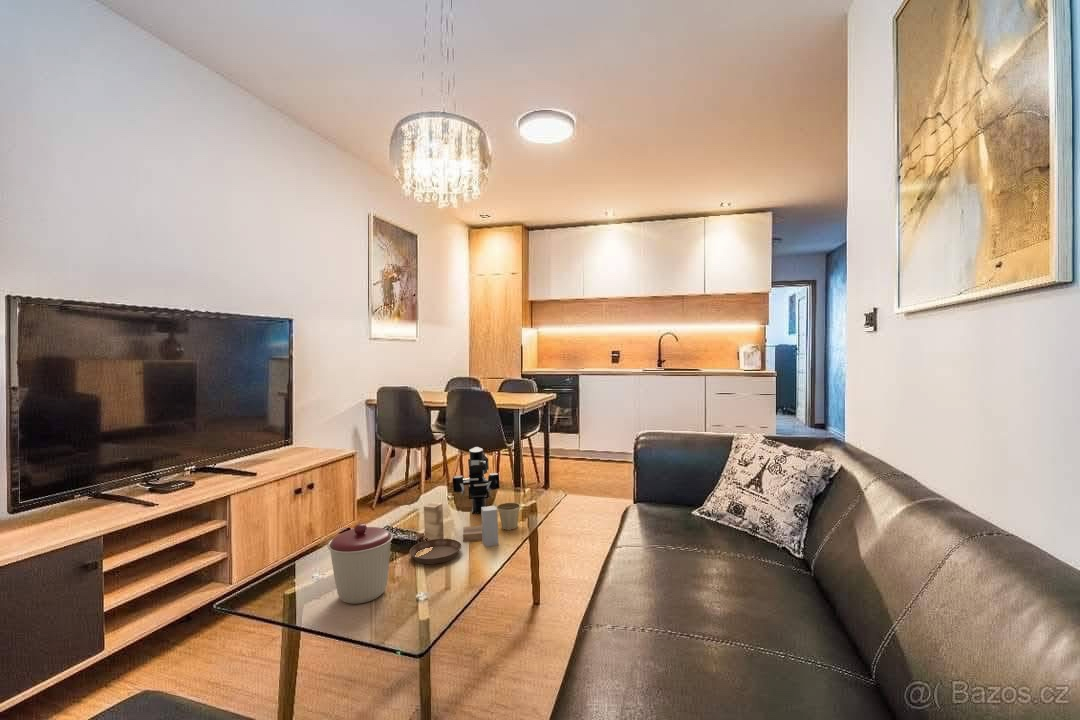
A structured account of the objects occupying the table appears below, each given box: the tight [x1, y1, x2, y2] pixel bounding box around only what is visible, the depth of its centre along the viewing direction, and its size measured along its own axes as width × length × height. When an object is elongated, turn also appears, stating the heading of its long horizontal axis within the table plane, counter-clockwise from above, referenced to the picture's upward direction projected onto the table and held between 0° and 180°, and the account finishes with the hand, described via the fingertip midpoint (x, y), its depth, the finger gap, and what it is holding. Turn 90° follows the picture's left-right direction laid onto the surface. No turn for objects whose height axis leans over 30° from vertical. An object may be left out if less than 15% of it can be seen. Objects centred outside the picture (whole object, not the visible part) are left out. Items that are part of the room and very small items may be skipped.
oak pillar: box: [423, 501, 445, 540], centre depth 187 cm, size 5×5×13 cm
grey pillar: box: [480, 505, 499, 548], centre depth 181 cm, size 5×5×13 cm
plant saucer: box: [409, 538, 462, 565], centre depth 172 cm, size 18×18×3 cm
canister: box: [327, 523, 394, 605], centre depth 144 cm, size 18×18×21 cm
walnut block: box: [462, 525, 482, 542], centre depth 188 cm, size 8×8×3 cm
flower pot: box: [496, 502, 521, 531], centre depth 197 cm, size 9×9×9 cm
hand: (475, 491), depth 193 cm, fingers open, 9 cm apart
